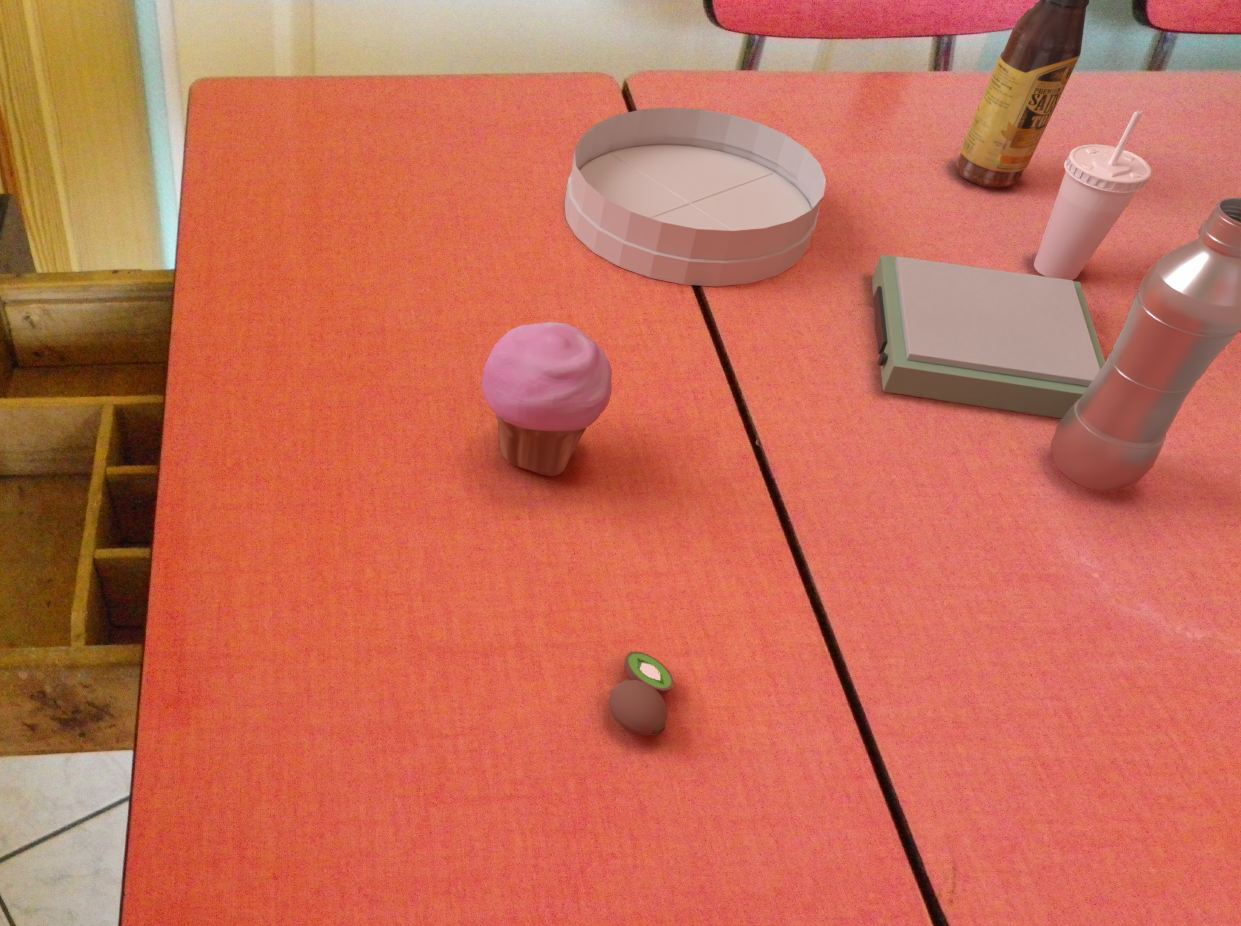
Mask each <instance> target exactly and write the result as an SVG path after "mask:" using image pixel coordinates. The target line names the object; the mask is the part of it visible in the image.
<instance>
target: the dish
mask: <svg viewBox="0 0 1241 926" xmlns="http://www.w3.org/2000/svg"><path fill="white" fill-rule="evenodd" d="M826 184H827V178H826V177H825V173H824V170H823V168H822V165H821V163H820V162H819V161H818V160H817V159H816V157H814V156H813V154H812V153H811V152H810V151H809V150H808V149H807V148H806V147H804V146H803V145H801V144H800V143H799V142H798V141H796V140H795V139H793V138H791V137H790V136H789V135H787V134H785V133H783V132H780V131H778V130H777V129H774V128H772V127H770V126H768V125H765V124H763V123H760V122H757V121H755V120H751V119H748V118H744V117H742V116H741V117H740V116H737V115H735V114H734V115H733V114H731V113H726V112H718V111H715V110H707V109H702V108H684V107H658V108H657V107H656V108H645V109H644V108H642V109H637V110H633V111H629V112H623V113H618V114H616V115H613V116H611V117H608V118H606V119H603V120H602V121H599V122H596V123H595V124H594V125H593V126H591V127H590V128H589V129H588V130H587V131H586V132H584V133H583V134H582V135H581V136H580V139H579V141H578V142H577V144H576V146H575V148H574V153H573V160H572V168H571V172H570V174H569V176H568V178H567V184H566V190H565V197H564V214H565V221H566V222H567V224H568V226H569V227H570V229H571V231H572V232H573V235H574V236H575V238H576V239H578V240H579V241H580V242H581V243H582V244H583V245H584V246H586V247H587V248H588V249H589V250H590V251H591V252H592V253H594V254H595V255H597V256H599V257H601V258H602V259H603V260H606V261H608V262H610V263H611V264H613V265H615V266H616V267H619V268H621V269H624V270H626V271H630V272H633V273H636V274H638V275H641V276H643V277H646V278H649V279H652V280H653V279H655V280H657V281H658V280H659V281H665V282H669V283H673V284H677V285H683V286H684V285H685V286H702V287H726V286H739V285H747V284H748V285H749V284H752V283H755V282H759V281H763V280H766V279H767V280H768V279H771V278H775V277H777V276H778V275H780V274H782V273H784V272H785V271H787V270H789V269H791V268H792V267H794V266H796V265H797V264H798V263H799V261H800V260H801V259H802V257H803V256H804V255H805V254H806V253H807V251H808V250H809V246H810V244H811V241H812V239H813V236H814V232H815V229H816V228H817V224H818V218H819V217H818V216H819V210H820V207H821V204H822V201H823V199H824V195H825V190H826Z"/></svg>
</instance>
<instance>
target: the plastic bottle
mask: <svg viewBox="0 0 1241 926" xmlns="http://www.w3.org/2000/svg"><path fill="white" fill-rule="evenodd" d="M1197 231H1198V232H1197V233H1198V236H1199V237H1198V238H1196V239H1194V240H1192V241H1190V242H1187V243H1184V244H1182V245H1180V246H1178V247H1177V248H1175V249H1173V250H1171V251H1169V252H1168V253H1166V254H1164V255H1163V256H1161V257H1159V259H1157V260H1156V261H1155V262H1154V263H1153V264H1152V265H1151V266H1150V267H1149V268H1148V269H1147V271H1146V272H1145V274H1144V276H1143V278H1142V280H1141V282H1140V284H1139V286H1138V290H1137V292H1136V294H1135V296H1134V299H1133V301H1132V304H1131V307H1130V309H1129V312H1128V315H1127V317H1126V319H1125V322H1124V325H1123V327H1122V329H1121V331H1120V334H1119V335H1118V336H1117V339H1116V341H1115V343H1114V344H1113V348H1112V349H1111V351H1110V353H1109V354H1108V357H1107V359H1105V364H1104V365H1103V367H1102V368H1101V370H1100V371H1099V373H1098V374H1097V375H1096V377H1095V378H1094V380H1093V381H1092V382H1091V384H1090V385H1089V387H1088V388H1087V390H1086V391H1085V392H1084V394H1083V395H1082V397H1081V398H1080V399H1079V400H1077V401H1076V403H1075V404H1074V405H1073V406H1072V407H1071V408H1070V409H1069V410H1068V412H1067V413H1066V414H1065V415H1064V417H1063V418H1062V419H1061V418H1060V420H1059V422H1058V423H1057V425H1056V428H1055V431H1054V433H1053V436H1052V439H1051V443H1050V450H1051V455H1052V459H1053V462H1054V464H1055V466H1056V467H1057V469H1058V470H1059V472H1061V473H1062V474H1063V475H1064V476H1066V478H1068V479H1070V480H1071V481H1072V482H1074V483H1076V484H1078V485H1081V486H1083V487H1085V488H1088V489H1091V490H1095V491H1101V492H1116V491H1121V490H1124V489H1127V488H1129V487H1132V486H1134V485H1136V484H1137V483H1139V481H1141V480H1142V478H1144V476H1145V475H1147V474H1148V473H1149V471H1151V470H1152V468H1153V467H1154V466H1155V464H1156V461H1157V460H1158V458H1159V456H1160V453H1161V451H1162V449H1163V447H1164V444H1165V441H1166V438H1167V434H1168V432H1169V430H1170V428H1171V427H1172V425H1173V423H1174V421H1175V419H1176V417H1177V414H1179V411H1180V409H1181V408H1182V405H1184V402H1185V400H1186V399H1187V397H1188V395H1189V394H1190V392H1191V391H1192V390H1193V389H1194V387H1195V386H1196V385H1197V382H1199V380H1200V379H1201V378H1202V376H1203V375H1204V374H1205V372H1206V371H1207V370H1208V368H1209V367H1210V366H1211V365H1212V363H1213V362H1214V360H1216V359H1217V357H1219V355H1220V354H1221V353H1222V352H1223V351H1224V350H1225V348H1226V347H1227V346H1228V345H1229V344H1230V342H1232V340H1233V339H1234V338H1235V337H1236V336H1237V335H1238V334H1239V333H1240V332H1241V197H1226V198H1223V199H1220V200H1219V201H1218V203H1216V204H1215V206H1214V208H1213V209H1212V211H1211V213H1210V214H1209V216H1208V217H1207V219H1205V220H1203V222H1202V223H1201V225H1200V227H1199V229H1198V230H1197Z"/></svg>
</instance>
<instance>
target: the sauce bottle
mask: <svg viewBox="0 0 1241 926" xmlns="http://www.w3.org/2000/svg"><path fill="white" fill-rule="evenodd" d="M1089 4H1090V0H1038V1H1037V2H1036V3H1035V4H1034V6H1033V7H1031V8H1030V9H1027V10H1026V11H1025V12H1024V13H1023V15H1022V16H1020V17H1019V19H1018V20H1017V21H1016V23H1015V24H1014V26H1013V28H1012V30H1011V33H1010V34H1009V37H1008V39H1007V42H1006V45H1005V47H1004V49H1003V51H1002V52H1001V53H1000V55H999V57H998V60H997V62H996V64H995V67H994V69H993V71H992V74H991V76H990V79H989V80H988V83H987V85H986V88H985V89H984V93H983V95H982V97H981V99H980V102H979V104H978V106H977V108H976V111H975V114H974V116H973V118H972V121H971V123H970V126H969V128H968V130H967V133H966V134H965V137H964V140H963V142H962V144H961V147H960V154H959V156H958V157H957V160H956V163H955V167H956V171H957V173H958V174H959V175H960V176H961V178H963V179H965V180H967V181H969V182H971V183H974V184H976V185H978V186H982V187H990V188H1007V187H1011V186H1013V185H1015V184H1017V182H1018V181H1019V180H1020V179H1021V177H1022V175H1023V172H1024V171H1025V170H1026V168H1028V166H1029V164H1030V162H1031V160H1032V158H1033V157H1034V155H1035V152H1036V150H1037V147H1038V145H1039V143H1040V141H1041V139H1042V137H1043V136H1044V135H1043V134H1044V133H1045V131H1046V128H1047V126H1048V124H1049V122H1050V120H1051V118H1052V116H1053V114H1054V112H1055V109H1056V107H1057V105H1058V103H1059V101H1060V99H1061V97H1062V94H1063V93H1064V90H1065V88H1066V86H1067V84H1068V82H1069V80H1070V78H1071V75H1072V73H1073V71H1074V69H1075V67H1076V65H1077V63H1078V61H1079V59H1080V56H1081V55H1082V45H1083V39H1084V29H1085V22H1086V21H1085V20H1086V13H1087V7H1088V6H1089Z"/></svg>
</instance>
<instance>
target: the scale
mask: <svg viewBox="0 0 1241 926" xmlns="http://www.w3.org/2000/svg"><path fill="white" fill-rule="evenodd" d="M871 287H872V301H873V302H872V303H873V313H874V322H875V323H874V324H875V333H876V342H877V351H878V360H877V366H880V376H881V386H882V392H885V393H890V394H898V395H903V396H911V397H917V398H922V399H923V398H924V399H931V400H936V401H942V402H943V401H944V402H949V403H957V404H962V405H963V404H964V405H969V406H977V407H982V408H989V409H996V410H1001V411H1002V410H1003V411H1009V412H1016V413H1022V414H1028V415H1035V416H1043V417H1049V418H1054V419H1055V418H1056V419H1060V420H1061V419H1062V418H1063V417H1064V415H1065V414H1066V413H1067V412H1068V410H1069V409H1070V408H1071V407H1072V406H1073V405H1074V404H1075V403H1076V401H1077V400H1079V399H1080V398H1081V397H1082V395H1083V394H1084V392H1085V391H1086V390H1087V388H1088V387H1089V385H1090V384H1091V382H1092V381H1093V380H1094V378H1095V377H1096V375H1097V374H1098V373H1099V371H1100V370H1101V368H1102V367H1103V365H1104V364H1105V362H1106V359H1105V357H1104V353H1103V350H1102V347H1101V344H1100V340H1099V338H1098V333H1097V331H1096V328H1095V324H1094V321H1093V318H1092V315H1091V312H1090V308H1089V305H1088V302H1087V299H1086V297H1085V296H1086V295H1085V292H1084V290H1083V289H1084V288H1083V286H1082V283H1081V281H1075V280H1074V279H1073V280H1066V279H1059V278H1051V277H1046V276H1044V275H1036V274H1030V273H1029V274H1028V273H1021V272H1014V271H1007V270H1000V269H993V268H986V267H979V266H978V267H977V266H972V265H971V266H970V265H963V264H957V263H950V262H942V261H936V260H927V259H921V258H913V257H907V256H899V255H897V256H894V255H887V254H880V256H879V260H878V262H877V265H876V267H875V269H874V272H873V275H872V277H871Z"/></svg>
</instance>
